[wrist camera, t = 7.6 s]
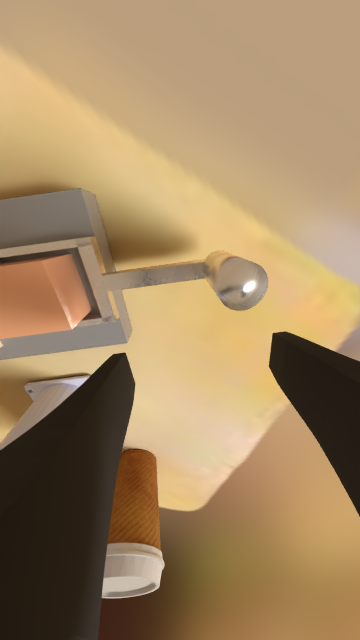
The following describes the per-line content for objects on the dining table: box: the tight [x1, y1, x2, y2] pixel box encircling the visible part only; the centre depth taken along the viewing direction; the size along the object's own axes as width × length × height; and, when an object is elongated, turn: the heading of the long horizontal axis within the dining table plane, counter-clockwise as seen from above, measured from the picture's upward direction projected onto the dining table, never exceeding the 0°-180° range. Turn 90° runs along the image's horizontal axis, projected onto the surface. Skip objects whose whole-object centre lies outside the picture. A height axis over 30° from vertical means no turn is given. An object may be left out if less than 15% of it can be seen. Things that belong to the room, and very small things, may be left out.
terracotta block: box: [0, 254, 92, 339], centre depth 13 cm, size 5×4×4 cm
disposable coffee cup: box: [102, 449, 164, 598], centre depth 25 cm, size 10×10×12 cm
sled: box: [0, 236, 268, 327], centre depth 12 cm, size 18×6×6 cm, turn 97°
